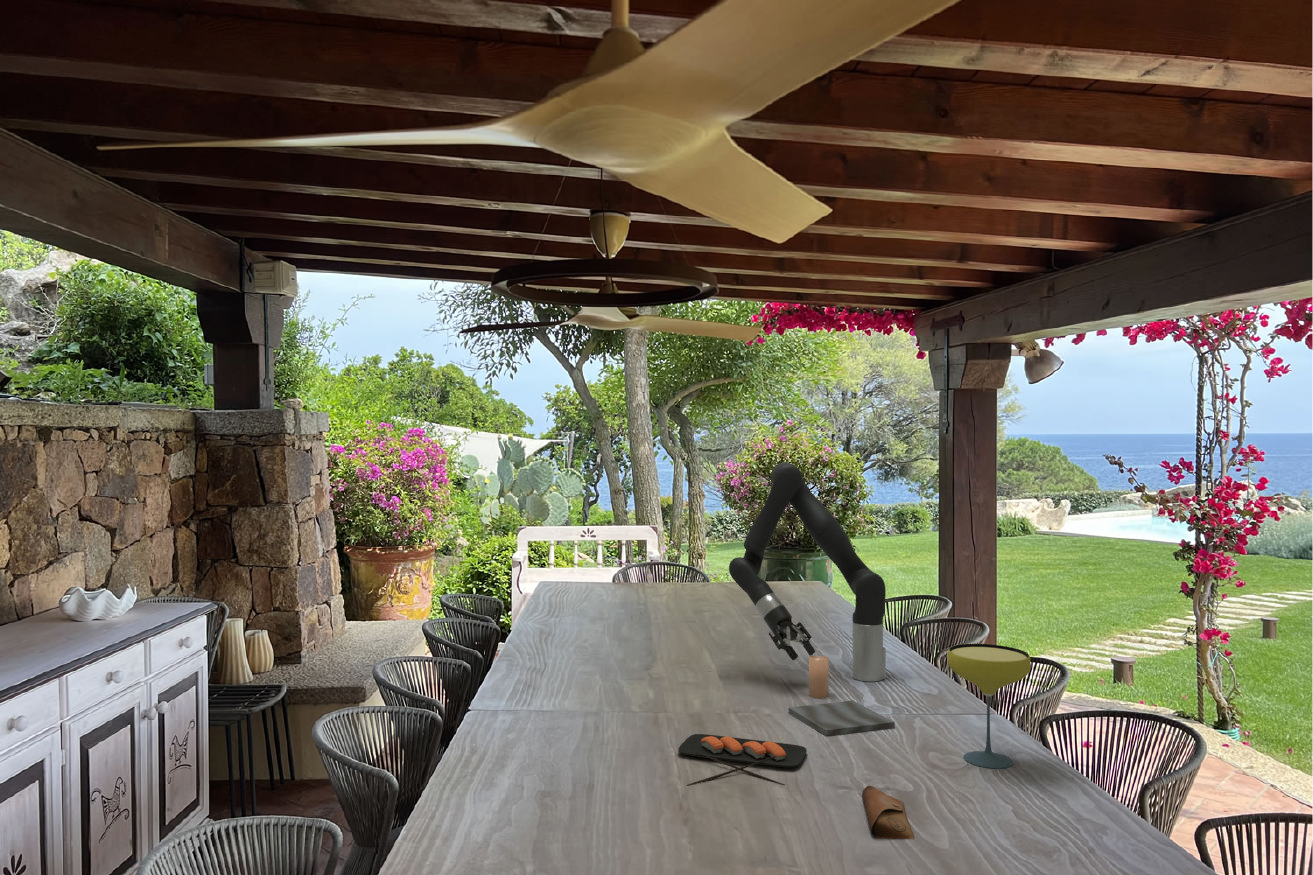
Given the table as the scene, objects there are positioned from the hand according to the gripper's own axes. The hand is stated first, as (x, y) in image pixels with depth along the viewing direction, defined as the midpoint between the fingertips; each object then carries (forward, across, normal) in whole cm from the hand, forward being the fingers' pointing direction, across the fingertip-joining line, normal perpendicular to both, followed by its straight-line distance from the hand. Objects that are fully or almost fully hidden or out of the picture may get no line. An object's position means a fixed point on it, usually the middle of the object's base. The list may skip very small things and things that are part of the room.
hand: (804, 656), depth 263 cm
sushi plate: (+25, -60, -9) cm, 66 cm away
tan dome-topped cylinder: (+11, 0, +4) cm, 12 cm away
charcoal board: (+23, -15, -8) cm, 29 cm away
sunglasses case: (+53, -61, -37) cm, 88 cm away
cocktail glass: (+52, -16, -37) cm, 66 cm away
